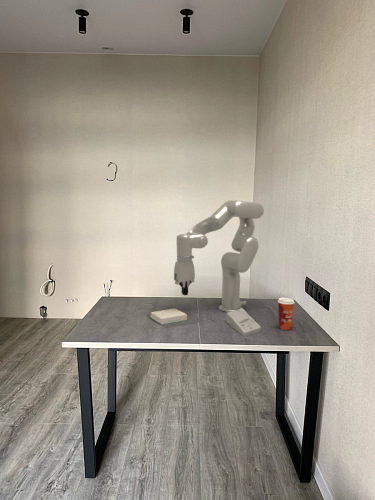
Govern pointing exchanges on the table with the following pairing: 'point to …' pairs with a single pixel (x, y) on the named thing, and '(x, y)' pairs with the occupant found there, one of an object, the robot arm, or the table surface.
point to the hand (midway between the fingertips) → (184, 294)
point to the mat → (190, 319)
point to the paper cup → (285, 313)
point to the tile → (168, 316)
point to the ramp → (242, 322)
